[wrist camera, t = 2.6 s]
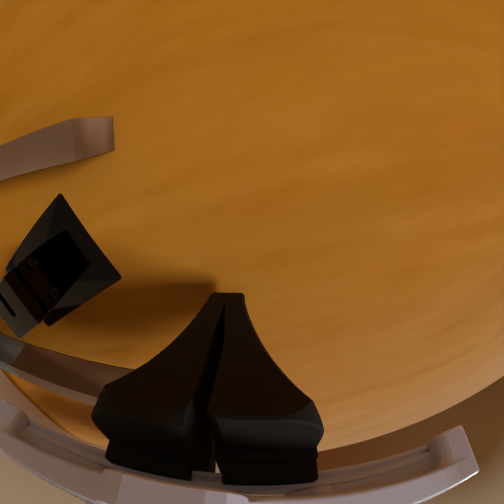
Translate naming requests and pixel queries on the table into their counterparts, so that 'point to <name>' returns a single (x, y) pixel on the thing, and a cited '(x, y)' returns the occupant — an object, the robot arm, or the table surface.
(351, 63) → the table surface
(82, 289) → the black holder block
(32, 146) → the bay
